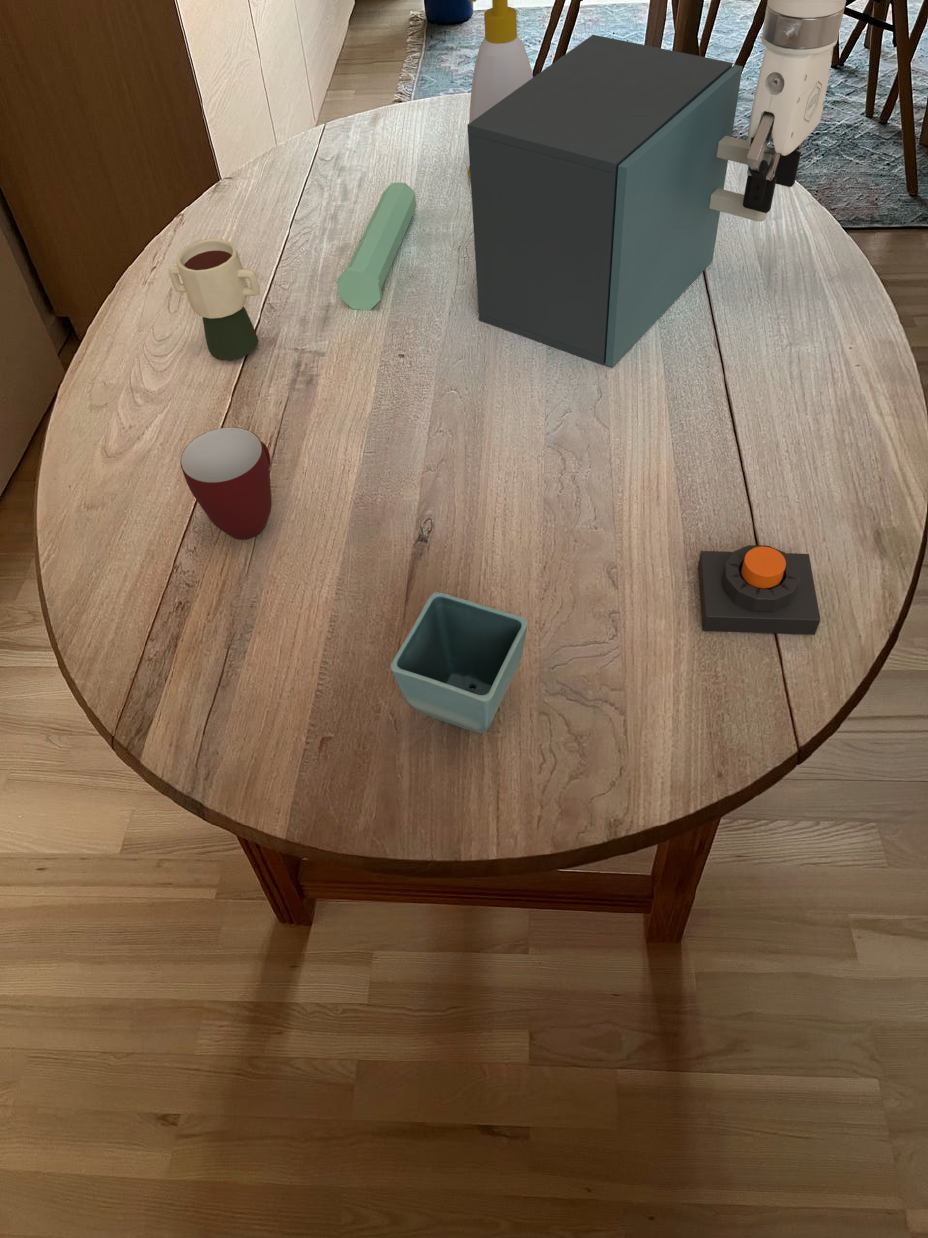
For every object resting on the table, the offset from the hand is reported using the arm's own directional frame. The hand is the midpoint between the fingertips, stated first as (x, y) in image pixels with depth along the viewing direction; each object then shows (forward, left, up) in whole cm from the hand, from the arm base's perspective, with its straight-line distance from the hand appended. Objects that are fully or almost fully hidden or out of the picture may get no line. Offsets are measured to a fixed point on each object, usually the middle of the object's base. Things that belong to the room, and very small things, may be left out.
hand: (768, 194), depth 110 cm
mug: (+55, +42, -12) cm, 71 cm away
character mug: (+64, +13, -12) cm, 67 cm away
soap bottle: (+33, -30, -12) cm, 46 cm away
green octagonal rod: (+48, -8, -12) cm, 50 cm away
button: (+4, +51, -9) cm, 52 cm away
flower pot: (+30, +64, -12) cm, 72 cm away
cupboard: (+20, 0, -12) cm, 23 cm away
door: (+8, +7, -12) cm, 16 cm away
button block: (+4, +51, -12) cm, 53 cm away
